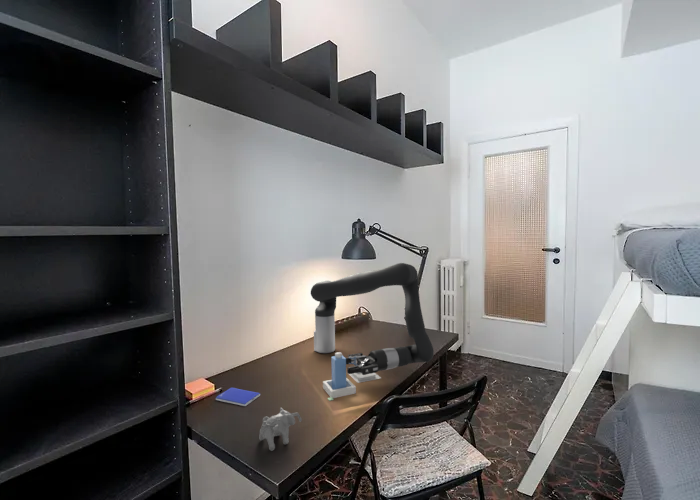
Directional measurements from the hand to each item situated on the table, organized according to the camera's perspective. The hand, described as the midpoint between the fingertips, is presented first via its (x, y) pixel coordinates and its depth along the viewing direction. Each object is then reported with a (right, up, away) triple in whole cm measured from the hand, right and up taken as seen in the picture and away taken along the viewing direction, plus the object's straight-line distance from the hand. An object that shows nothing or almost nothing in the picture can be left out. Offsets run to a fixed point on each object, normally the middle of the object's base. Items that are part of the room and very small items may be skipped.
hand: (343, 366), depth 125 cm
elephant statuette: (-17, -11, -27) cm, 34 cm away
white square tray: (+8, -8, +12) cm, 17 cm away
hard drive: (-36, -11, -3) cm, 38 cm away
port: (-1, -9, 0) cm, 9 cm away
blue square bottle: (-2, -9, 0) cm, 9 cm away
